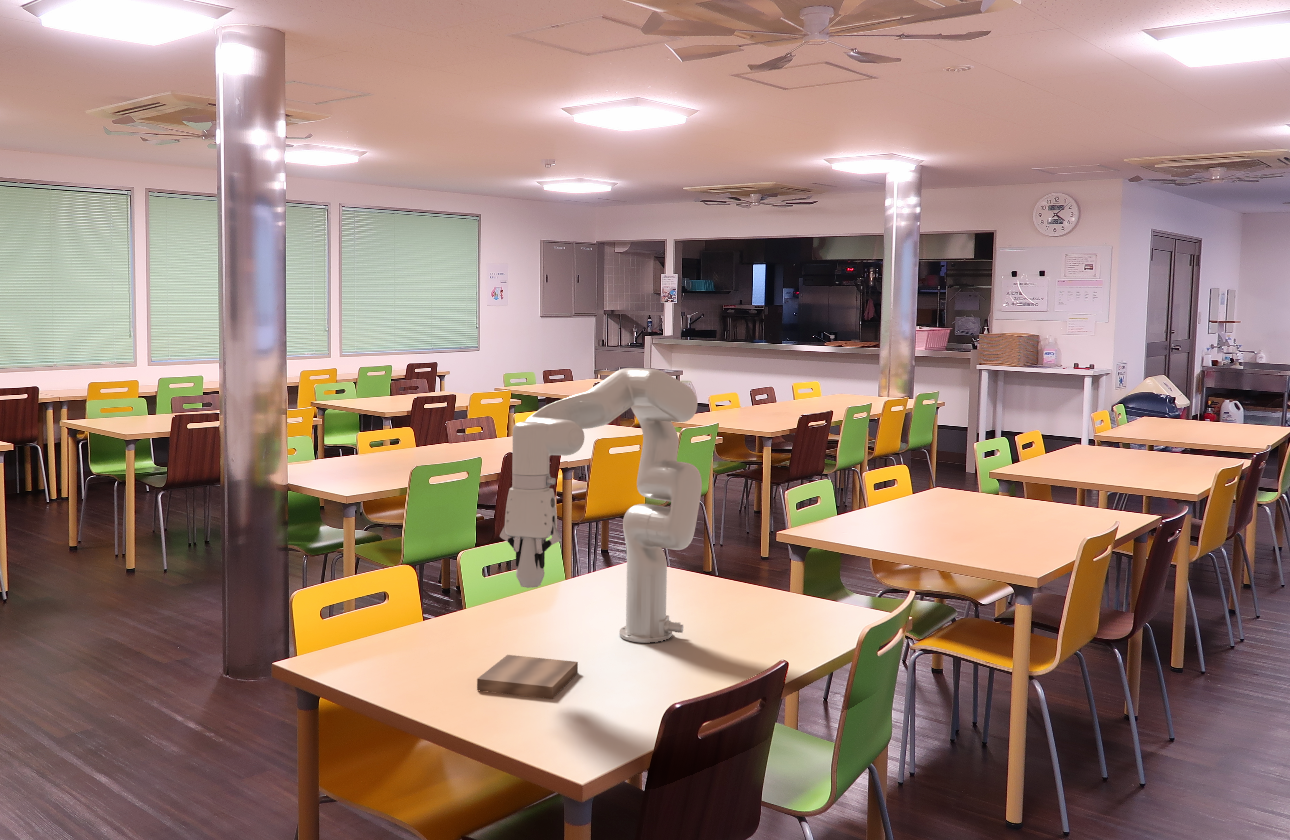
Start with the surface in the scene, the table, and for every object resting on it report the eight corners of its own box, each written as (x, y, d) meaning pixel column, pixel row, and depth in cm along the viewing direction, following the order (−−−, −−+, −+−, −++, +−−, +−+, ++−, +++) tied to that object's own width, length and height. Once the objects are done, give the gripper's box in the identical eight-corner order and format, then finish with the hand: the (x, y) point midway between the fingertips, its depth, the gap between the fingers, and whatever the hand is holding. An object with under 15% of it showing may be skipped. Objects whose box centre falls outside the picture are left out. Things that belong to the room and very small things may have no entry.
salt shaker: (532, 590, 209) (532, 526, 208) (510, 586, 212) (510, 523, 211) (549, 584, 214) (550, 522, 213) (528, 580, 217) (528, 519, 216)
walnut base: (577, 675, 221) (577, 661, 220) (552, 701, 205) (552, 686, 205) (507, 668, 225) (507, 654, 224) (477, 693, 209) (477, 678, 209)
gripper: (574, 482, 213) (573, 569, 215) (500, 477, 217) (500, 563, 219) (562, 487, 206) (561, 578, 207) (486, 482, 210) (485, 571, 212)
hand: (530, 570), depth 213 cm, fingers closed on salt shaker, 3 cm apart
